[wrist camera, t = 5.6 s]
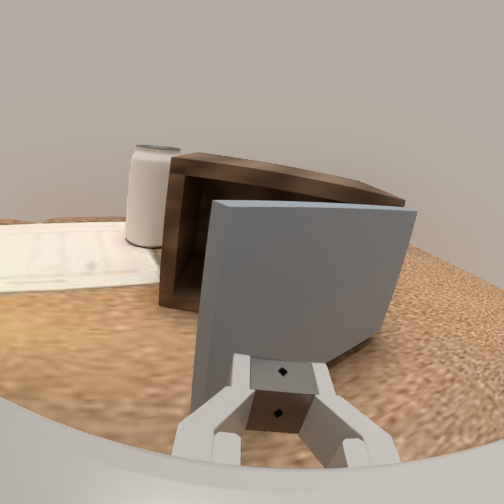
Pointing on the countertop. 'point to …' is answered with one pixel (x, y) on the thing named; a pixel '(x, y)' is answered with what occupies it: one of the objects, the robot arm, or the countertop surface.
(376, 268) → the flap
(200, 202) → the crate
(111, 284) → the countertop surface
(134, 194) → the can
